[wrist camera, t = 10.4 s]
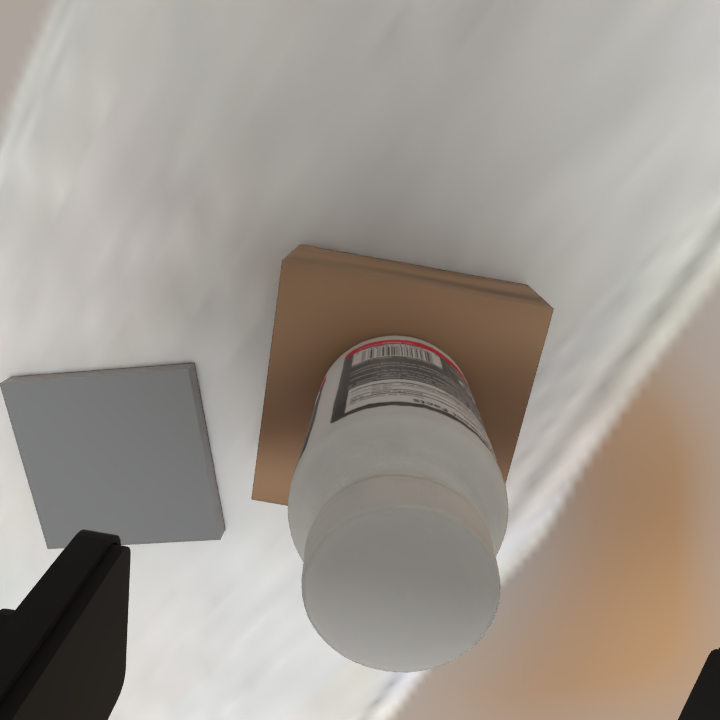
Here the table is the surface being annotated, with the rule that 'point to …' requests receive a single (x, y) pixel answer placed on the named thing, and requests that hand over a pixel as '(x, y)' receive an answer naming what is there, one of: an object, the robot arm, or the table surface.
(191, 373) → the slate coaster
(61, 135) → the table surface
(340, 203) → the table surface
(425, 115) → the table surface
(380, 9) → the table surface
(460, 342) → the walnut block
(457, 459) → the pill bottle
